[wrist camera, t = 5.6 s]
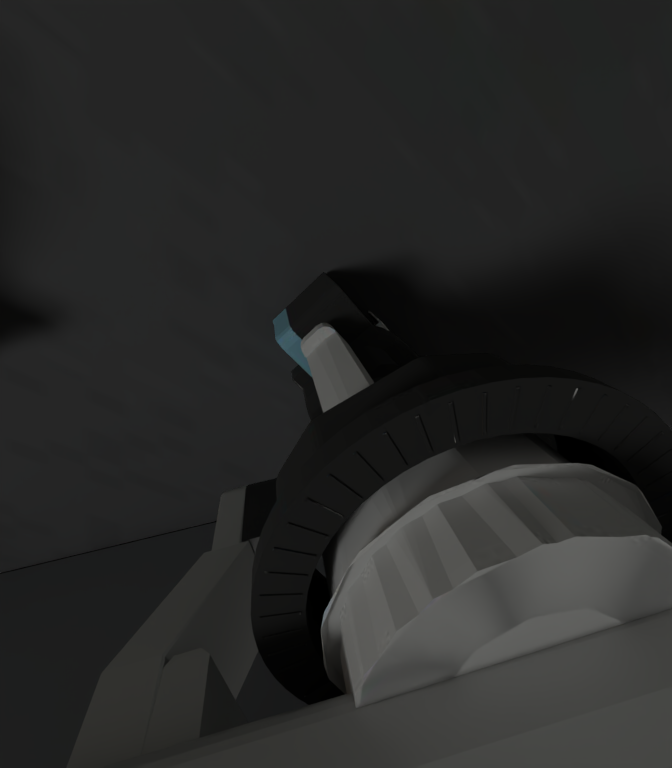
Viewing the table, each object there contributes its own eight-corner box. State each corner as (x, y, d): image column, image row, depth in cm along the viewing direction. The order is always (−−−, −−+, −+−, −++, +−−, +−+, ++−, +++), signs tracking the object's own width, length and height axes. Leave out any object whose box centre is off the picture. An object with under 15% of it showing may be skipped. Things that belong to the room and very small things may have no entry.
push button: (468, 376, 14) (851, 672, 5) (358, 469, 15) (509, 875, 6) (351, 227, 11) (713, 262, 2) (223, 349, 12) (98, 750, 3)
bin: (312, 498, 15) (358, 763, 8) (353, 679, 20) (403, 934, 13) (-33, 581, 14) (-351, 984, 7) (108, 750, 19) (18, 1072, 12)
